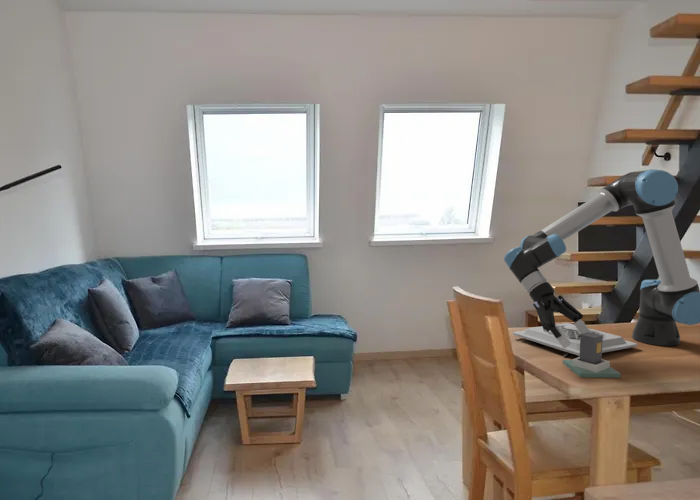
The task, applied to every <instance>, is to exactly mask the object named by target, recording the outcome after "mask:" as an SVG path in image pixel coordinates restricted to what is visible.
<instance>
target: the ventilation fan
mask: <svg viewBox="0 0 700 500" xmlns="http://www.w3.org/2000/svg"><path fill="white" fill-rule="evenodd" d="M556 326H559V328H560V329H561V330H562V332H563V333H564V334H565V336H566V337H567V338H568V340H569V341H570V342H571V344H570V345H569V346H567V347H566V348H563V347H562V345H561V344H560V343H559V341H558V340H557V339H556V337H555V336H554V335H553V333H552V332H551V331H548V332H547V331H546V330H545V329H543V327H542V325H541V326H535V327H527V328H526V329H524V330H517V331H512V336H516V337H519V338H522V339H524V340H528V341H530V342H531V341H532V342H535V343H537V344H541V345H543V346H546V347H550V348H553V349H555V350H560V351H563V352H565V353H566V352H568V353H569V354H572V355H576V356H578V357H580V339H581V333H580V331H579V330H578V329H577V328H576V326H575V325H574V323H573V324H572V323H569V322H564V323H563V322H562V323H555V327H556ZM587 328H588V329H589V330H590V331H591V333H595V334H599V335H603V341H602V354H603V353H608V352H615V351H620V350H625V349H630V348H635V347H638V343H637V342H632V341H630V340H625V338H623V337H622V336H621V335H617V334H612V333H608V332H604V331H602V330H601V331H600V330H597V329H592V328H589V327H587Z"/></svg>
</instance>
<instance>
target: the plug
mask: <svg viewBox="0 0 700 500" xmlns="http://www.w3.org/2000/svg"><path fill="white" fill-rule="evenodd" d="M580 337H581V339H580V356H579V357H580V358H579V360H580V361H584V362H587V363H591V364H594V365H597V364H599V363H601V359H603V357H602V355H603V353H602V341H603V335H599V334H595V333H590V332H587V333H584V334H581V336H580Z"/></svg>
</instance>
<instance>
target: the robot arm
mask: <svg viewBox="0 0 700 500" xmlns="http://www.w3.org/2000/svg"><path fill="white" fill-rule="evenodd" d="M678 192H679V184H678V181H677V179H676V178H675V176H674V175H673V174H671V173H670V172H668V171H666V170H663V169H653V168H652V169H645V170H638V171H631V172H628V173H626V174H623V175H621V176H620V177H618V178H617V179H614V180H613V181H612V182H611V183H609V184H607V185H606V186H605V187H603V188H601V189H600V190H599V192H598V194H597V195H595V196H593V197H592V198H590V199H589V200H587V201H586V202H584V203H582V204H581V205H579V206H577V207H576V208H575V209H573V210H572V211H570V212H568V213H567V214H565V215H563V216H561V217H560V218H558V219H557V220H555V221H554V222H552V223H550V224H548V226H546V227H544V228H542V229H541V230H539V231H537V232H535V233H534V234H533V235H531V234H530V235H527V236H524V237H523V238H522V239H521V241H520V244H519V245H520V246H516V247H513V248H511V249H510V250H508V251H507V253H505V255H504V258H503V261H504V262H505V264H506V265H507V267H508V268H509V270H510V272H512V274H513V275H514V276H515V278H516V280H518V282H519V283H520V284H521V286H522V287H523V289H524V290H525V291H526V292H527V293H529V294H528V296H530V298H531V299H532V301H533V302H534V303H533V307H534V309H535V311H536V313H537V316H538V318H539V321H540V324H541V326H542V327H543V329H545V330H546V331H547V332H548V331H551V332H552V333H553V335H554V336H555V337H556V339H557V340H558V341H559V343H560V344H561V345H562V347H563V348H566V347H567V346H569V345H570V344H571V342H570V341H569V340H568V338H567V337H566V336H565V334H564V333H563V332H562V330H561V329H560V328H559V326H556V327H555V325H556V321H555V313H558V314H561V315H562V316H564V317H566V318H567V319H569V320H570V321H572V322H573V324H574V325H575V326H576V328H577V329H578V330H579V331H580V333H581V334H584V333H587V332H590V333H591V331H590V330H589V329H590V328H589V327H588V326H587V325H586V324H585V322H584V321H583V320H582V319H583V318H584V315H583V314H582V313H581V312H580V311H579V310H578V309H576V308H575V307H574V306H573V305H572V304H570V303H569V302H568V301H567V300H566V299H565V298H564V297H563V296H562V295H561V294H560V295H558V296H557V297H556V296H555V295H554V293H555V289H554V288H553V286H552V285H551V283H550V282H548V279H547V278H546V277H545V276H544V275H543V273H542V271H540V269H539V268H541V267H542V266H544V265H546V264H547V263H549V262H551V261H553V260H555V259H556V258H559V257H560V256H561V255H563V254H565V253H566V251H567V246H566V244H565V240H567V239H569V238H570V237H572V236H573V235H575V234H576V233H578V232H580V231H581V230H583V229H585V228H586V227H588V226H590V225H591V224H592V223H595V222H596V221H598V220H600V219H601V218H603V217H604V216H606V215H607V214H610V213H612V212H618V211H619V210H621V209H624V208H625V207H629V206H633V208H634V212H635V215H636V216H638V217H641V218H642V221H643V225H644V228H645V232H646V235H647V240H648V242H649V246H650V250H651V252H652V255H653V259H654V264H655V266H656V269H657V273H658V276H659V279H644V280H642V281H641V284H640V288H639V291H640V295H639V310H638V318H637V319H638V320H637V322H636V323H635V326H634V328H633V331H632V335H631V337H632V339H633V340H635V341H637V342H641V343H644V344H648V345H654V346H663V347H673V346H678V345H680V344H681V335H680V331H679V329H678V325H677V323H678V324H682V325H683V324H684V325H688V326H694V325H698V324H700V286H699V283H698V280H696V279H695V278H692V277H691V275H690V271H689V268H688V264H687V262H686V257H685V255H684V254H685V253H684V250H683V246H682V243H681V240H680V236H679V235H680V234H679V233H678V230H677V226H676V222H675V218H674V215H673V212H672V211H673V209H674V208H675V206H676V201H675V199H676V197H677V194H678ZM676 322H677V323H676ZM588 328H589V329H588Z"/></svg>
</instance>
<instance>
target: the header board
mask: <svg viewBox="0 0 700 500" xmlns="http://www.w3.org/2000/svg"><path fill="white" fill-rule="evenodd" d="M579 358H580V356H578V357H576V358H573V359H563V360H562V365H564V364H565V365H566V366H565V365H564V366H565V367H566V368H567V369H569V368H570V369H571V370H572V371H571V370H570V369H569V370H570V371H571V372H573V373H574V374H575V373H576V374H577V375H578V377H579V378H609V379H610V378H611V379H612V378H615V379H617V378H618V379H619V378H620V379H621V375H622V374H621V372H619V371H617V370H616V369H615V368H613V367H611V366H610V360H606V359H603V358H601V363H599V364H597V365H594V364H591V363H587V362H584V361H580V360H579ZM576 374H575V375H576ZM577 375H576V376H577Z"/></svg>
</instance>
